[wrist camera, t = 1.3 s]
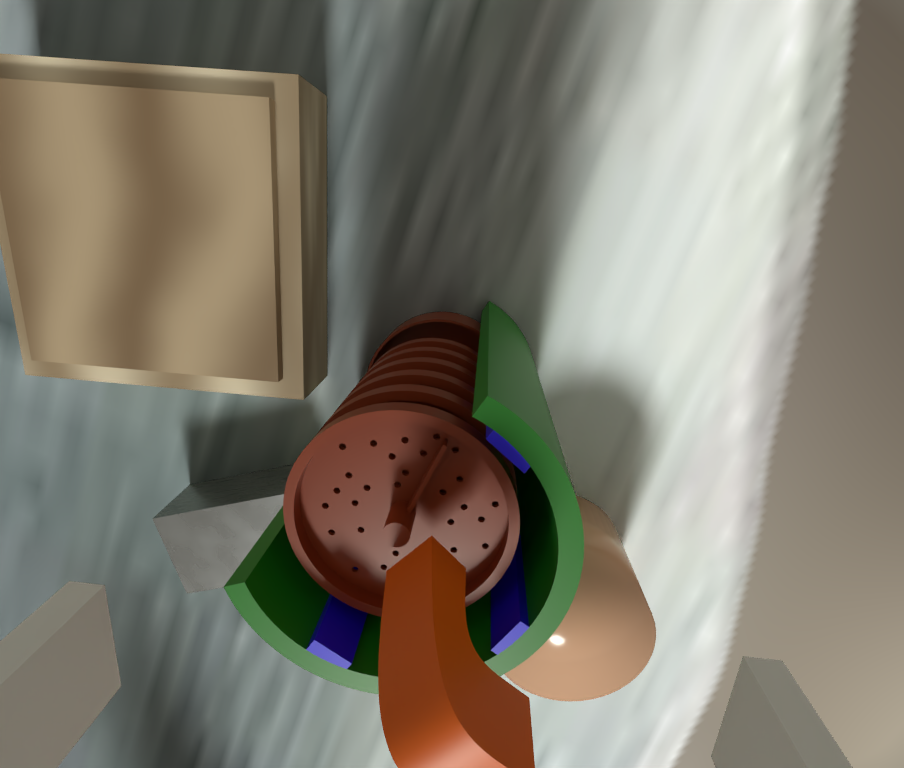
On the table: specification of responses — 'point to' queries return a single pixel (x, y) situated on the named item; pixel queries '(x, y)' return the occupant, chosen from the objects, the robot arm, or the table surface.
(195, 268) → the plinth
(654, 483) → the table surface
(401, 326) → the motor
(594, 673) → the tan rounded cylinder
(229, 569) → the grey stone block
